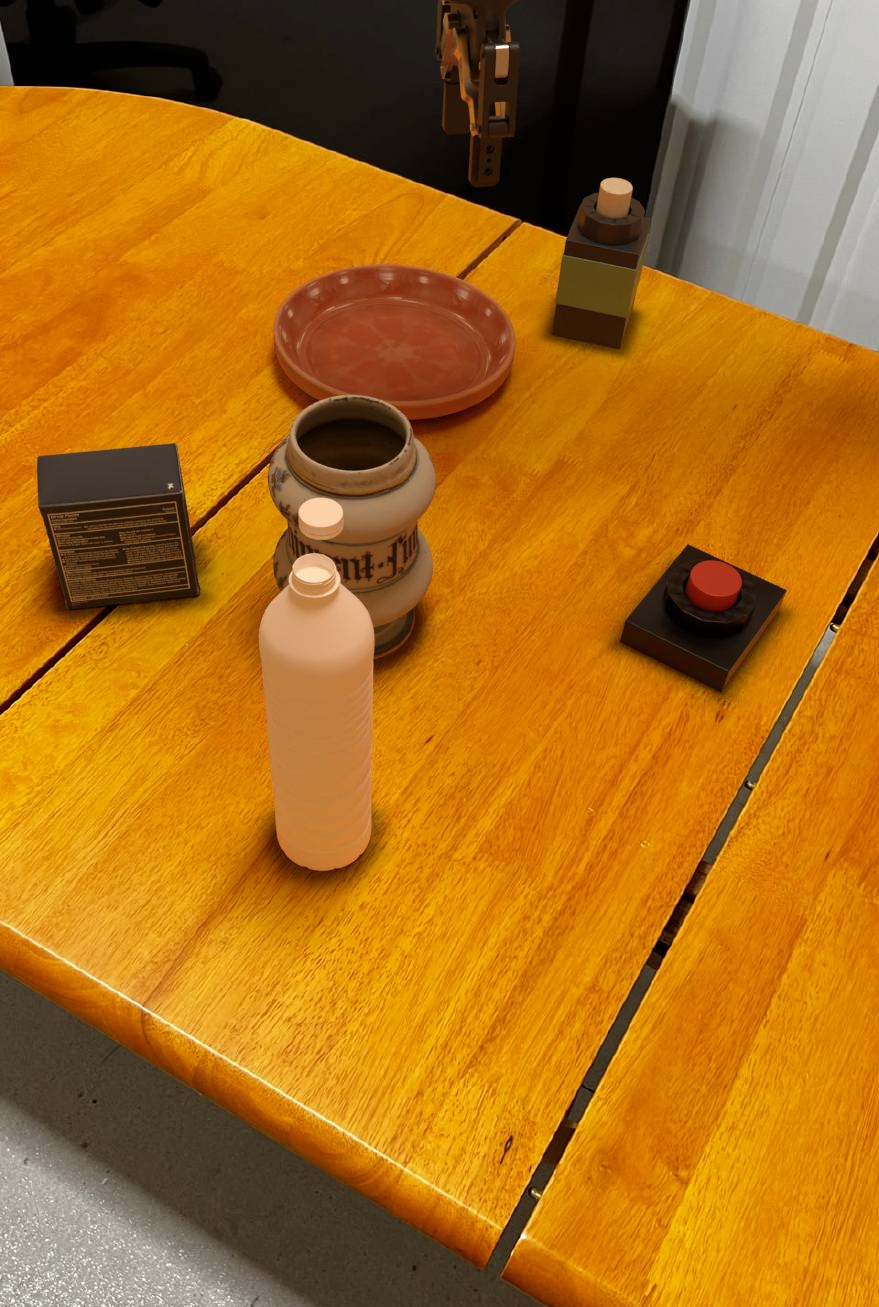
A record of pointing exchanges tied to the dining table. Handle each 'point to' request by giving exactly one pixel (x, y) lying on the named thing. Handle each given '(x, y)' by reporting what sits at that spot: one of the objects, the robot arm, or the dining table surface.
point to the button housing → (701, 623)
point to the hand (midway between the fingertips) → (469, 157)
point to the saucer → (395, 338)
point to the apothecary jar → (360, 505)
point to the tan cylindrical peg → (614, 198)
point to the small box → (118, 525)
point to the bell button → (713, 586)
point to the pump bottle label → (598, 285)
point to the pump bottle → (606, 245)
